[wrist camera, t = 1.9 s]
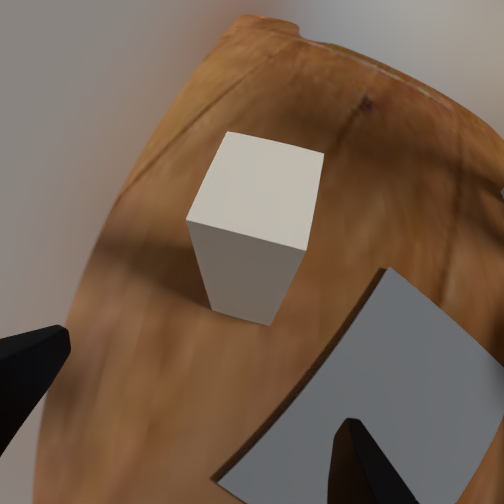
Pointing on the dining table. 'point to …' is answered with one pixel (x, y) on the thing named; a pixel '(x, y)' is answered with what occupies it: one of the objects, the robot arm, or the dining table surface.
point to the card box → (253, 223)
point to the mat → (385, 405)
